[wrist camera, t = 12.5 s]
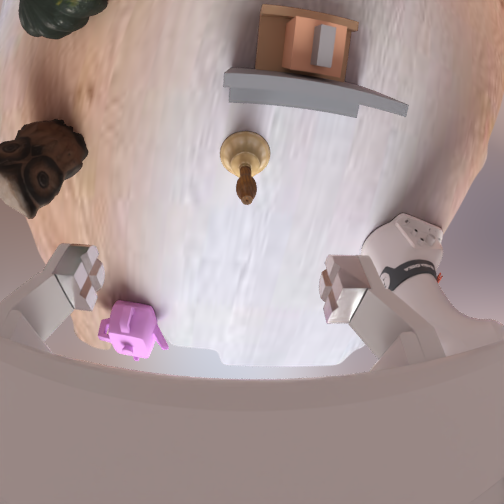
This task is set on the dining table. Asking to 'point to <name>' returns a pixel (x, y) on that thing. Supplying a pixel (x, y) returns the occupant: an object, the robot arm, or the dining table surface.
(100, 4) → the squash
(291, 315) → the dining table surface
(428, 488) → the robot arm
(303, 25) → the tall peach box
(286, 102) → the board
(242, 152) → the hand bell
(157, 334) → the teakettle
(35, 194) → the owl
